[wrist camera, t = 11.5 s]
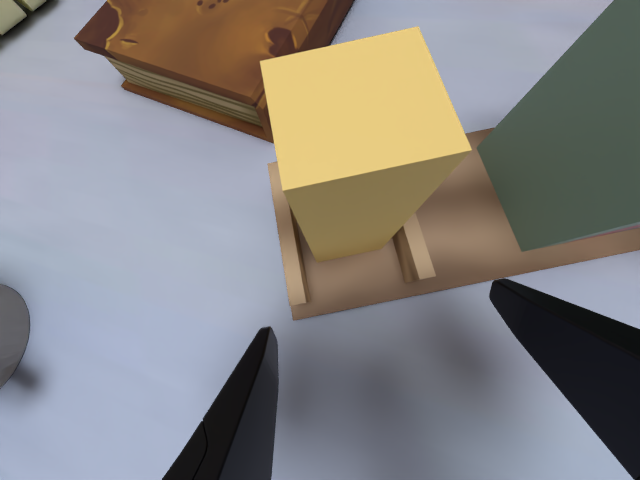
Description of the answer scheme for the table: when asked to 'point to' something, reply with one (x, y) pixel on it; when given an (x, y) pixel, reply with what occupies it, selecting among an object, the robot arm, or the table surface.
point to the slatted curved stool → (15, 12)
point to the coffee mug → (12, 331)
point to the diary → (208, 50)
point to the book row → (575, 140)
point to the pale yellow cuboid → (360, 138)
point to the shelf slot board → (426, 247)
